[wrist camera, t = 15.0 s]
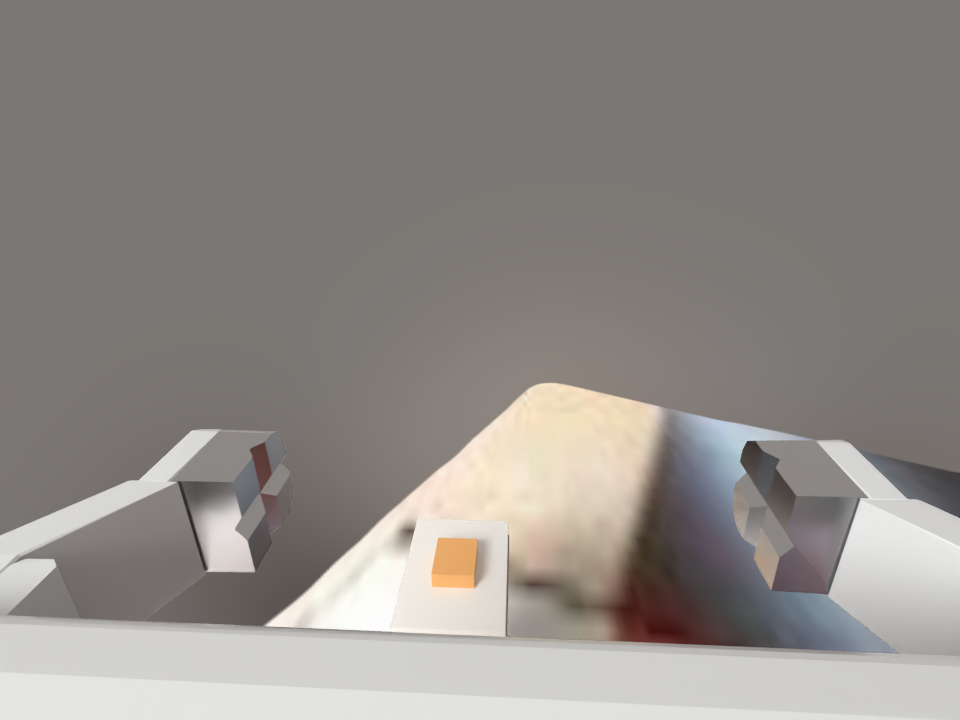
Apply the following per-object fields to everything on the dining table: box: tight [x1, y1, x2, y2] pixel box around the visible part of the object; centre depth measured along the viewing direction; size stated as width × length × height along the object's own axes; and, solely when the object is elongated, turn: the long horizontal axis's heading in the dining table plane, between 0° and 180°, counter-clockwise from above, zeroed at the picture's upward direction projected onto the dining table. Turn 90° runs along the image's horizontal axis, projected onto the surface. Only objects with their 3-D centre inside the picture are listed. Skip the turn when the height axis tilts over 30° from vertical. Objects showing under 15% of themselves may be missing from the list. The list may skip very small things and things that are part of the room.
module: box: [390, 519, 509, 637], centre depth 29 cm, size 7×5×15 cm
